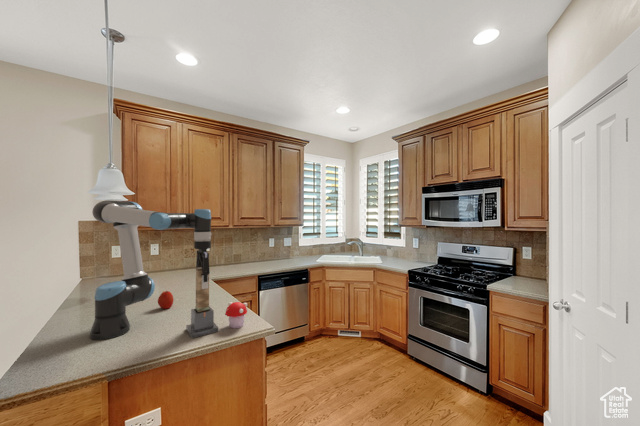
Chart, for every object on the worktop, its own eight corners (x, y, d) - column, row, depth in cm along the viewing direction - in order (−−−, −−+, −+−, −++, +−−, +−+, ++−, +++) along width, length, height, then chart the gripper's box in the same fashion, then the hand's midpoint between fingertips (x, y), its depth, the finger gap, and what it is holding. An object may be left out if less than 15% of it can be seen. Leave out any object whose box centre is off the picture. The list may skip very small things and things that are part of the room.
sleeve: (191, 338, 124) (191, 316, 124) (186, 329, 133) (186, 309, 133) (218, 331, 131) (218, 310, 131) (211, 323, 140) (211, 304, 140)
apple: (155, 310, 159) (155, 292, 160) (162, 306, 168) (162, 288, 168) (169, 310, 160) (169, 292, 160) (176, 305, 168) (176, 288, 168)
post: (197, 312, 128) (198, 269, 129) (195, 309, 133) (195, 267, 133) (209, 309, 131) (209, 268, 132) (206, 307, 136) (206, 266, 136)
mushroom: (251, 324, 140) (252, 300, 140) (235, 332, 130) (235, 307, 130) (237, 320, 145) (237, 297, 145) (220, 327, 136) (220, 303, 136)
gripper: (216, 241, 126) (216, 290, 126) (205, 238, 143) (204, 280, 143) (199, 242, 121) (199, 292, 121) (189, 239, 139) (189, 283, 139)
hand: (202, 286), depth 132 cm, fingers open, 9 cm apart
